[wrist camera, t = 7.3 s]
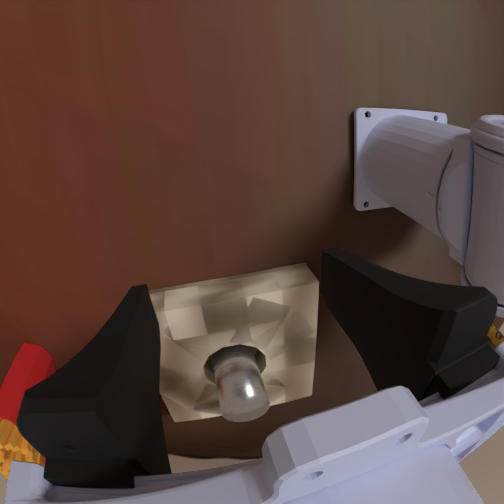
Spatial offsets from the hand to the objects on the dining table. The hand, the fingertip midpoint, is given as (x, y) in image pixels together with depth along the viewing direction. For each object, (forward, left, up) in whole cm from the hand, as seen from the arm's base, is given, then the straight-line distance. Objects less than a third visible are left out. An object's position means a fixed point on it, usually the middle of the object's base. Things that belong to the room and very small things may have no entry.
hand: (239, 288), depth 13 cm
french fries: (+20, +13, -11) cm, 26 cm away
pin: (0, +13, -10) cm, 16 cm away
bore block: (0, +13, -10) cm, 17 cm away
